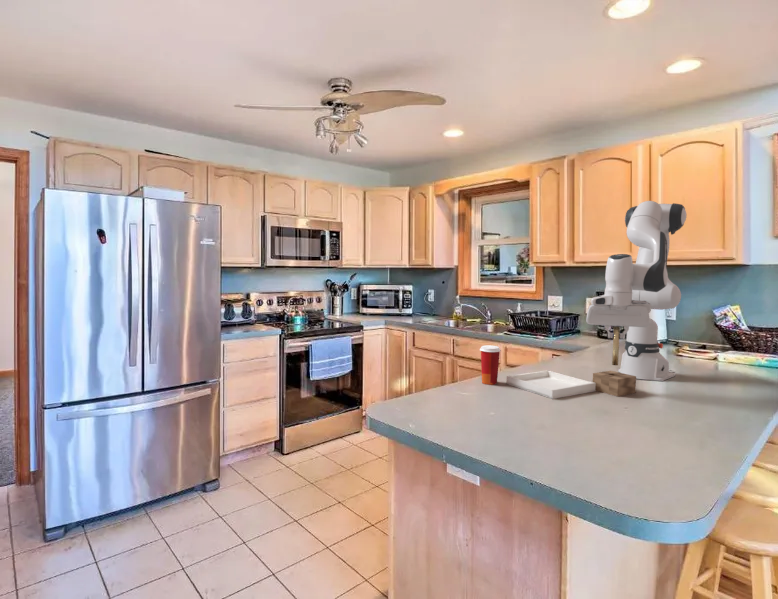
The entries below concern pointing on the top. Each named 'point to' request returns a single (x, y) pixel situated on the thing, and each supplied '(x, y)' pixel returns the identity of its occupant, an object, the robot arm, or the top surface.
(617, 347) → the brass pin
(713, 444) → the top surface
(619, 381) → the walnut block
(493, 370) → the paper cup
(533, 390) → the off-white tray
